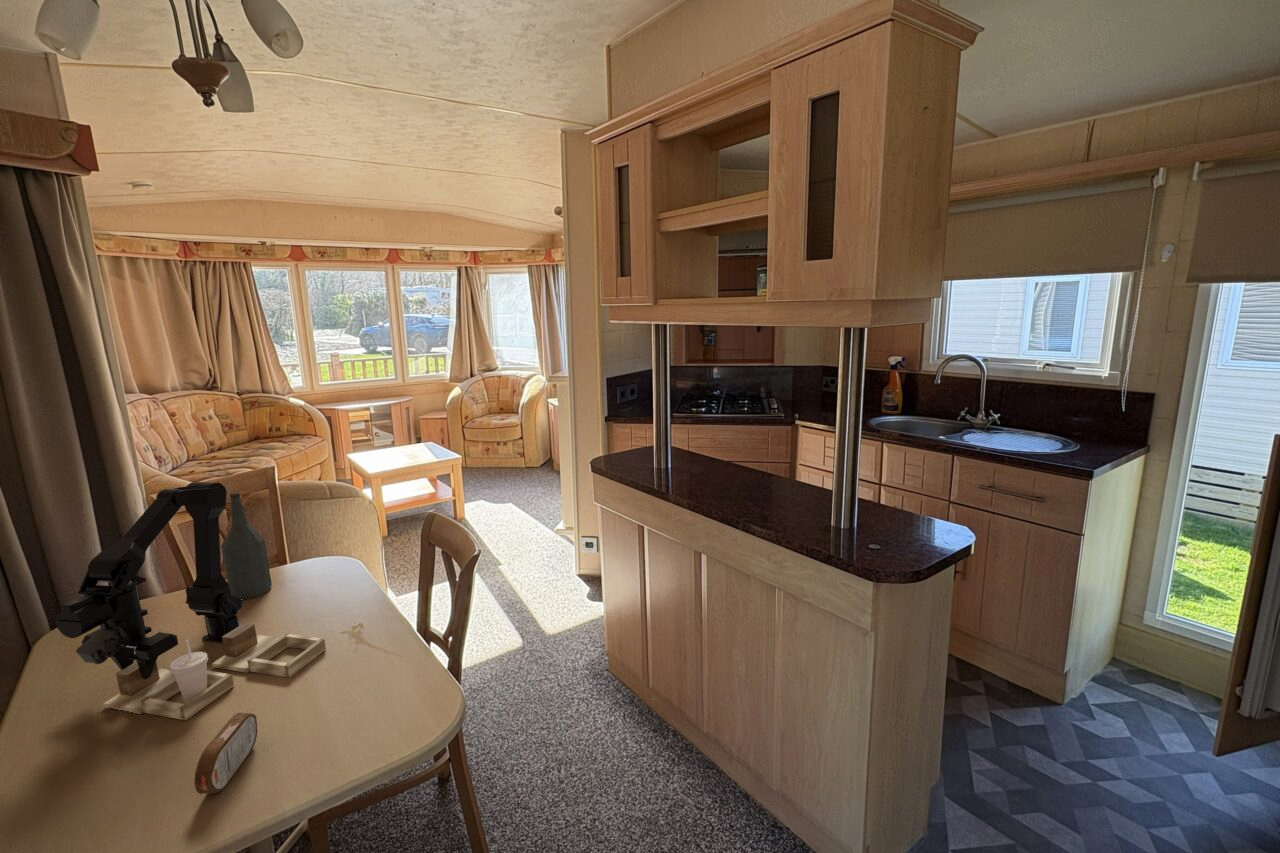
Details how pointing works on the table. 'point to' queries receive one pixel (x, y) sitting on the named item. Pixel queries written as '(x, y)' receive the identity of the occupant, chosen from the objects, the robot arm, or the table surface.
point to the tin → (226, 753)
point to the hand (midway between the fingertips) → (138, 676)
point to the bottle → (245, 556)
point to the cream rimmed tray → (163, 692)
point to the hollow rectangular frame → (265, 651)
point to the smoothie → (190, 673)
